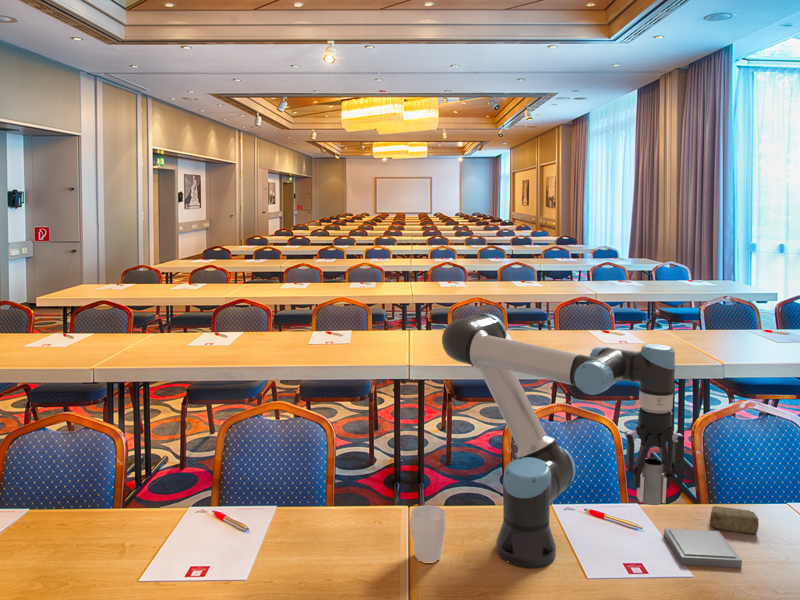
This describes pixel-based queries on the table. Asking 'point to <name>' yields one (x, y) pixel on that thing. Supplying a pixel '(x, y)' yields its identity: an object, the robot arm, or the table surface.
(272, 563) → the table surface
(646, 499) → the grey tube
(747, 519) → the stone block
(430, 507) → the cup
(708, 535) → the kitchen scale
